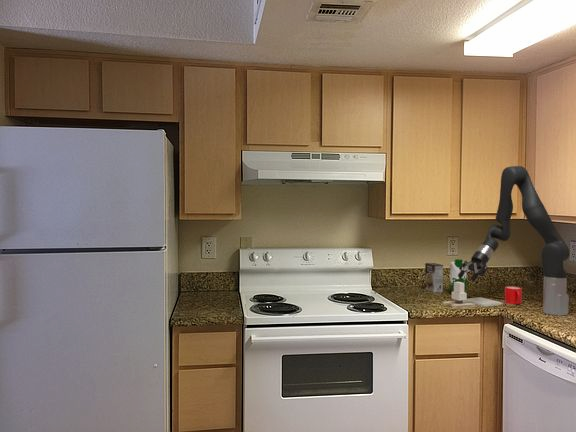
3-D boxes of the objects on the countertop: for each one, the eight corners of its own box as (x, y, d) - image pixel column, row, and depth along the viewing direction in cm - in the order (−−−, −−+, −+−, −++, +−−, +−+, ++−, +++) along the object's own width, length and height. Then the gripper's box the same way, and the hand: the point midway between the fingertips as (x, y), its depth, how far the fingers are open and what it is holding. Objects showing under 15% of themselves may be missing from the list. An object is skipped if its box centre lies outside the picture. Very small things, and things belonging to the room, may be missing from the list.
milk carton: (450, 295, 244) (450, 259, 244) (449, 292, 253) (449, 258, 252) (467, 296, 242) (467, 260, 241) (465, 292, 251) (465, 258, 250)
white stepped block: (466, 299, 218) (466, 282, 217) (458, 300, 216) (459, 283, 215) (459, 297, 222) (459, 281, 222) (451, 298, 220) (451, 282, 220)
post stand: (475, 306, 216) (475, 293, 216) (458, 308, 212) (458, 295, 212) (459, 302, 226) (459, 289, 226) (442, 304, 222) (442, 291, 222)
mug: (512, 306, 218) (512, 290, 217) (502, 300, 230) (502, 286, 229) (528, 306, 217) (528, 290, 217) (517, 301, 229) (517, 286, 229)
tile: (502, 304, 221) (502, 302, 221) (484, 306, 216) (484, 304, 216) (480, 299, 234) (480, 297, 234) (463, 300, 229) (463, 299, 229)
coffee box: (424, 289, 260) (424, 263, 260) (433, 289, 262) (433, 262, 262) (433, 292, 252) (434, 264, 251) (443, 291, 254) (443, 264, 253)
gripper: (468, 249, 230) (451, 271, 226) (490, 252, 217) (472, 276, 213) (475, 258, 232) (458, 281, 228) (497, 262, 219) (480, 286, 215)
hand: (465, 278), depth 221 cm, fingers open, 8 cm apart
